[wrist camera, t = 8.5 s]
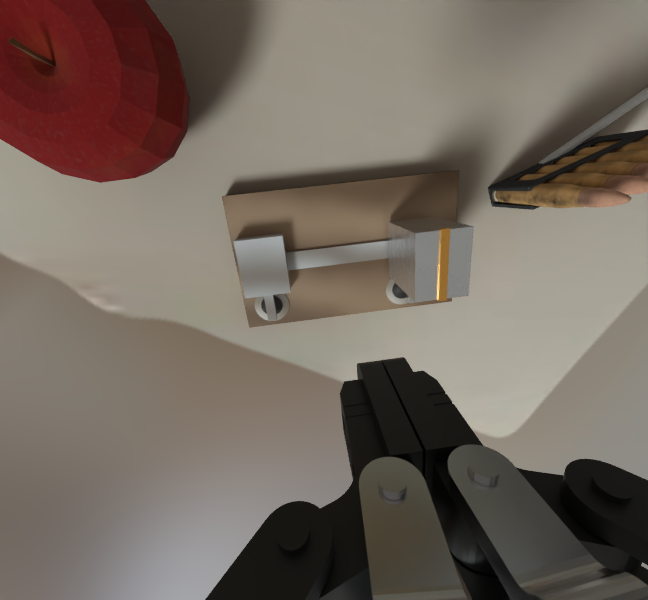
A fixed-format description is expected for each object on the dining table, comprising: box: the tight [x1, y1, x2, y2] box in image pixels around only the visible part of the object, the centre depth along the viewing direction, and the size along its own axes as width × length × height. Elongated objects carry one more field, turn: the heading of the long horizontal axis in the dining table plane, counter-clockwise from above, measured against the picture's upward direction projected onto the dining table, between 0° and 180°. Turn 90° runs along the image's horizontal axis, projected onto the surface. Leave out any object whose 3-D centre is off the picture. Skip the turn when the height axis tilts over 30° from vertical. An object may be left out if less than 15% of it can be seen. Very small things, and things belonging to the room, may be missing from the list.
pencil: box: [538, 87, 648, 166], centre depth 27 cm, size 1×1×15 cm
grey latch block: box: [388, 217, 474, 303], centre depth 25 cm, size 8×4×7 cm, turn 6°
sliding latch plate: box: [222, 170, 459, 327], centre depth 28 cm, size 12×20×3 cm, turn 96°
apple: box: [0, 0, 190, 183], centre depth 18 cm, size 11×11×12 cm
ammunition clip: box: [488, 130, 648, 210], centre depth 23 cm, size 11×2×12 cm, turn 114°
